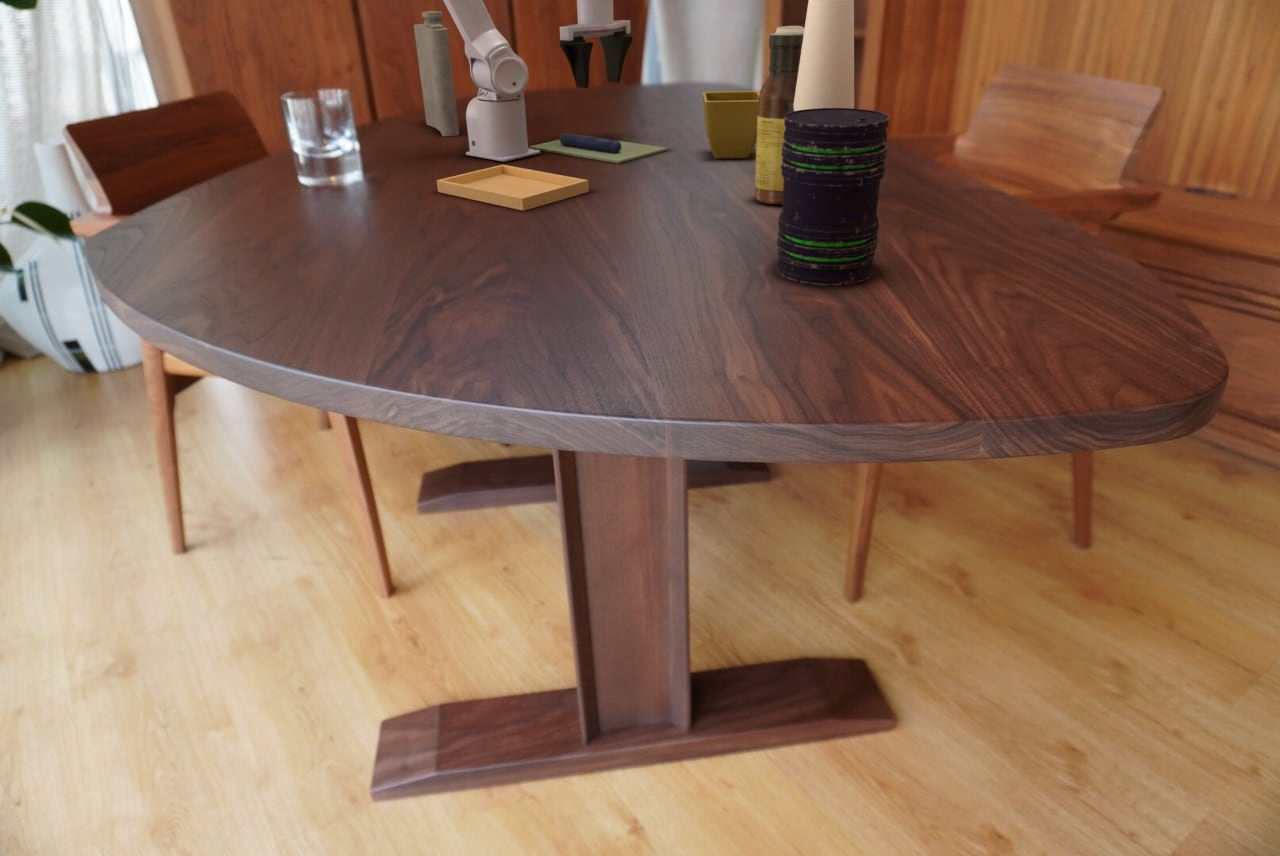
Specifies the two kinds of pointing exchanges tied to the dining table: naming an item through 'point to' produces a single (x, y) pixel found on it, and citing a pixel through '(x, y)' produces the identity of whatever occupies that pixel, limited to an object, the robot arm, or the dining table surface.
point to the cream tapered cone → (827, 57)
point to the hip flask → (436, 74)
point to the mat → (625, 154)
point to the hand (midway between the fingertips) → (598, 84)
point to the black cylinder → (831, 194)
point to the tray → (513, 187)
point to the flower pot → (731, 122)
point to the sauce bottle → (775, 114)
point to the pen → (590, 142)
